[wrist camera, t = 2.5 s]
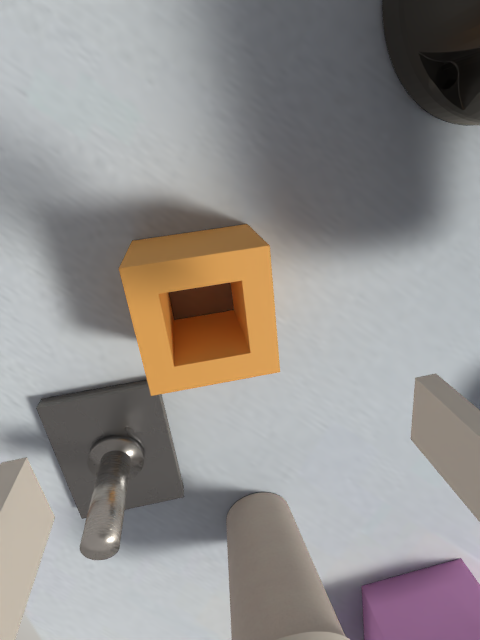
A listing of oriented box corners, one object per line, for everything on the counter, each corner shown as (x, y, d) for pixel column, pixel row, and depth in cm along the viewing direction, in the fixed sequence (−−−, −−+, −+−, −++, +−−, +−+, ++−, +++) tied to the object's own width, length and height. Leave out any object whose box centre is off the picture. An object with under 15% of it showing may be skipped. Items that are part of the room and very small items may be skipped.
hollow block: (132, 240, 26) (118, 268, 20) (247, 224, 27) (269, 245, 20) (156, 343, 29) (151, 396, 23) (257, 326, 30) (279, 372, 24)
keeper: (41, 398, 30) (-11, 494, 21) (157, 377, 31) (151, 461, 22) (84, 507, 35) (56, 619, 26) (183, 486, 35) (186, 588, 27)
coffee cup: (220, 478, 36) (248, 677, 22) (314, 481, 38) (392, 664, 24) (203, 549, 39) (219, 758, 26) (290, 548, 41) (347, 741, 28)
